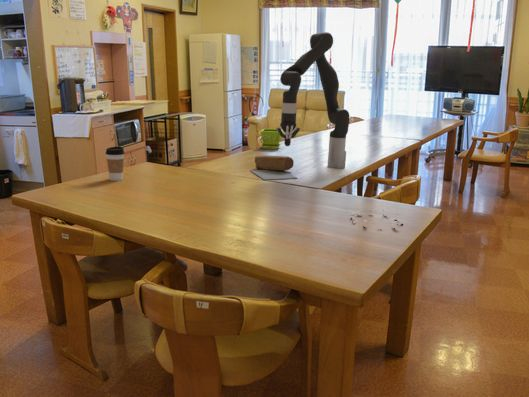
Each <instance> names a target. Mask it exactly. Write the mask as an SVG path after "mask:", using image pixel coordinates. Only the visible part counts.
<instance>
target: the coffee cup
mask: <svg viewBox="0 0 529 397" xmlns="http://www.w3.org/2000/svg"><path fill="white" fill-rule="evenodd" d="M105 150H106V151H105V154H106V163H107V169H108V170H107V171H108V176H109V177H108V178H109V180H110V181H112V182H117V181H118V182H119V181H122V180H123V179H124V166H125V165H124V164H125V163H124V162H125V158H124V154H125V151H124V150H125V149H124V147H123V146H111V147H108V148H106V149H105Z"/></svg>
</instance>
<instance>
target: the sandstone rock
mask: <svg viewBox="0 0 529 397" xmlns="http://www.w3.org/2000/svg"><path fill="white" fill-rule="evenodd" d="M254 163H255V168H256V169H259V170H278V171H286V172H287V171H289V170H291V169H292V168H293V167H294V159H293V158H292V157H290V156H287V155H286V156H285V155H256V156H255V157H254Z"/></svg>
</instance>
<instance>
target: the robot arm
mask: <svg viewBox="0 0 529 397" xmlns="http://www.w3.org/2000/svg"><path fill="white" fill-rule="evenodd" d="M309 44H310V50H308V51H306V52H305V53H304V54H302V55H301V56H299V58H298V59H297V60H296V61H295V62H294V64H292V65H290V66H289V67H288V68H286V69H285V70H284V71H282V73H281V74H280V83H281V85H283V86H286V87H289V89H288V90H285V91H283V93H282V104H281V115H280V116H281V119H280V123H279V124H280V125H279V126H278V127H276V128H275V129H276V130H277V131H278V133H279V134H280V136H281V138H284V140H283V141H284V142H283V143H284V145H285V147H290V145H291V143H292V142H291V139H293V138H295V137H296V136H297V135H298V133H299V132H300V130H301V127H298V126H297V123H296V122H297V112H298V111H297V99H298V96H297V95H298V92H299V89H300V86H301V83H302V76H303V75H304V74H305V73H306V72H307V71H308V69H310V68H311V66H312V65H313V64H314V63H316V67H317V70H318V75H319V79H320V83H321V88H322V91H323V95H324V99H325V105H326V112H327V113H326V114H327V116H328V117H327V118H328V121H329V122H330V123H331V125H332V124H333V125H334V128H333V130H331V131H329V137H328V138H329V141H328V152H327V153H328V155H327V156H328V157H327V168H330V169H332V168H333V169H343V168H344V169H345V168H346V160H347V150H346V142H347V140H346V138H347V134H348V133H349V125H350V112H349V111H348V110H347V109H345V108H340V106H339V102H338V92H339V89H340V82H339V78H338V74H337V71H336V70H335V67H333V66H332V65H331V63H330V62H329V61H328V60H327V57H326V55H325V53H326V52H328V51H329V50H331V48H332V47H333V45H334V37H333V35H332V33H330V32H327V31H326V32H325V31H324V32H318V33H317V32H316V33H313V34H311V36H310V38H309ZM281 130H282V131H281Z"/></svg>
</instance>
